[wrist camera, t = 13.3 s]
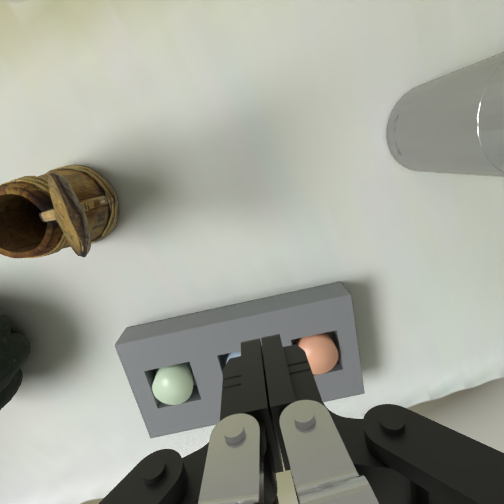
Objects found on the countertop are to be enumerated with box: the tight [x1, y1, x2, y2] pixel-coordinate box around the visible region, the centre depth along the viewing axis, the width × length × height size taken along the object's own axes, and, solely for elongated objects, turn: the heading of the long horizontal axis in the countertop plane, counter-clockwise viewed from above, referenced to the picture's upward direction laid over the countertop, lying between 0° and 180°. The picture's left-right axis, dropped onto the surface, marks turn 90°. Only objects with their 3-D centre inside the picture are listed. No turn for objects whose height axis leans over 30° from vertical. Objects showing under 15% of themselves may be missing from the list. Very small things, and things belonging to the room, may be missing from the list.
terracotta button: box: [294, 332, 338, 375], centre depth 40 cm, size 5×5×3 cm
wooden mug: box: [0, 165, 119, 258], centre depth 28 cm, size 9×14×18 cm, turn 101°
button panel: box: [115, 282, 364, 438], centre depth 41 cm, size 28×14×4 cm, turn 102°
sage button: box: [152, 362, 195, 405], centre depth 40 cm, size 5×5×3 cm
